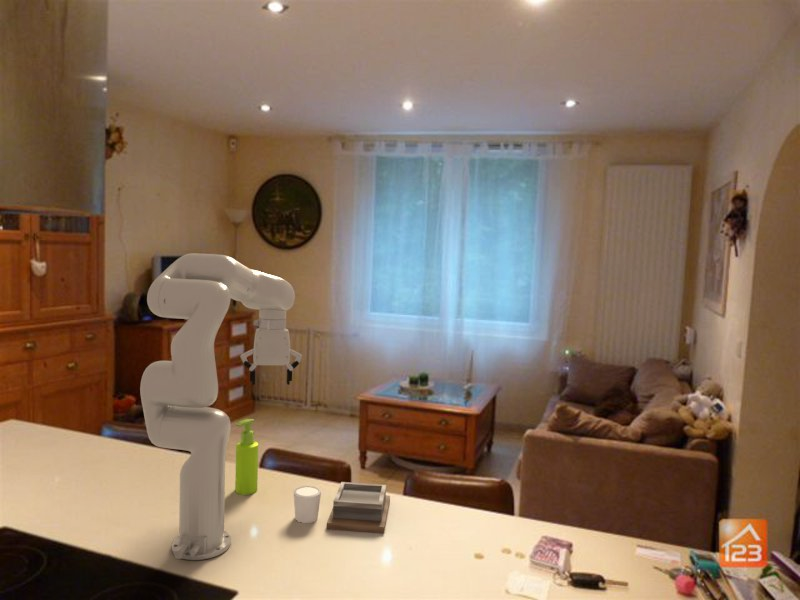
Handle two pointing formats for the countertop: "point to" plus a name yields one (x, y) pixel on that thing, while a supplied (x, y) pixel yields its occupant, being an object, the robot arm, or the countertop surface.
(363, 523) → the stand
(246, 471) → the soap dispenser
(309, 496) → the white cup
